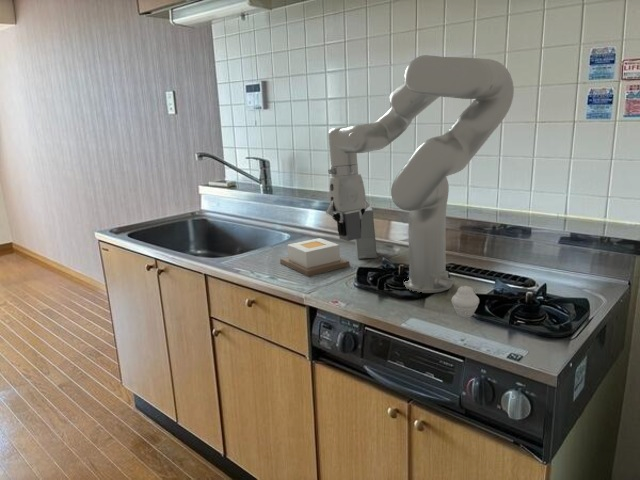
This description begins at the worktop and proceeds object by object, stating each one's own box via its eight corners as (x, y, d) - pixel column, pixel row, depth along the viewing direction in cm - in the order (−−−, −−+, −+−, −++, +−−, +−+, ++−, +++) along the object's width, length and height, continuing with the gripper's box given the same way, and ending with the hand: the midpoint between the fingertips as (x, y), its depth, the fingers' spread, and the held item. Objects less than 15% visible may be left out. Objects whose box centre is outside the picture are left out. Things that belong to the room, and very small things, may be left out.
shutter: (325, 247, 160) (325, 245, 160) (309, 250, 157) (309, 248, 157) (316, 244, 164) (316, 241, 164) (301, 247, 162) (300, 245, 161)
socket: (349, 265, 158) (348, 245, 157) (307, 276, 151) (306, 255, 149) (319, 254, 173) (318, 235, 172) (280, 262, 166) (278, 243, 164)
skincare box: (377, 258, 164) (375, 210, 160) (355, 259, 164) (353, 211, 161) (375, 251, 172) (373, 205, 168) (354, 252, 173) (351, 206, 169)
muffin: (465, 307, 120) (465, 279, 119) (485, 315, 115) (485, 286, 114) (445, 313, 118) (445, 285, 116) (464, 322, 112) (464, 292, 111)
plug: (361, 237, 148) (359, 207, 146) (348, 241, 146) (345, 210, 144) (352, 235, 152) (349, 206, 150) (339, 238, 150) (336, 208, 148)
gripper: (326, 175, 138) (332, 241, 142) (376, 167, 146) (380, 229, 150) (312, 174, 144) (318, 237, 148) (361, 167, 152) (365, 226, 156)
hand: (349, 232), depth 149 cm, fingers closed on plug, 4 cm apart
